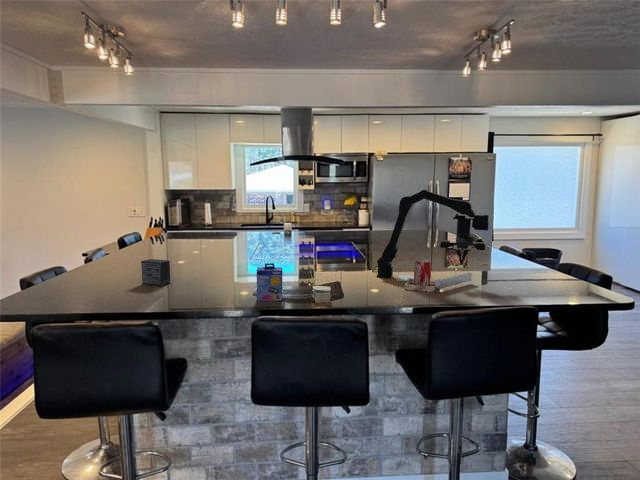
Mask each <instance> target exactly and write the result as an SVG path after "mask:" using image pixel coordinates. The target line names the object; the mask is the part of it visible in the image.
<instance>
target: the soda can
mask: <svg viewBox="0 0 640 480" xmlns="http://www.w3.org/2000/svg"><path fill="white" fill-rule="evenodd" d="M413 273H414V275H413V276H414V283H413V285H418V286H429V287H431V285H430V281H431V280H432V277H431V276H432V263H431V260H430V259H427V258H426V259H425V258H419V259H416V260H415V263H414V272H413Z"/></svg>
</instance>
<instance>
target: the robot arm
mask: <svg viewBox="0 0 640 480" xmlns="http://www.w3.org/2000/svg"><path fill="white" fill-rule="evenodd" d="M422 200H427V201H430V202H433V203H436V204H439V205H443V206H445V207H447V208H449V209H452V210H453V211H454V212H456V214H455V215H454V216H453V217H452V219H453V220H456V235H455V242H453V241H451V240H449V239H447V240H445V239H442V240H441V241H440V245H439V248H440V249H448V248H449V247H453V251H455V252H456V254H457V257H458V261H459V264H460V265H463V263H464V260H465V259H466V256H467V255H468V253H469V252H471V251H472V249H473V248H475V249H476V251H486V243H485V242H484V241H482V242H481V241H475V243H474V236H472V237H471V228H473V229H474V231H483V232H484V231H486V232H487V231H489V224H490V223H489V214H476V212H474V210H473V209H472V208H473V206H472V203H471V202H470V201H468V200H464V199H455V198H450V197H447V196H444V195H441V194H438V193H435V192H432V191H429V190H428V189H422V190H420V191H418V192H416V193H414V194H413V195H408V196H403V197H401V199H400V201H399V204H398V214H397V218H396V222H395V224H394V227H393V230H392V233H391V235H390V239H389V242H388V243H387V245H386V247H385V248H384V250H383V252H382V253H381V256H380V258H379V259H377V260H376V262H377V275H376V277H377V278H384V279H385V278H386V279H391V277H392V276H393V274H394V267H393V261H394V260H395V259H396V258H397V257H398V256H399V252H400V250H401V248H400V247H399V242H400V239H401V235H402V233H403V229H404V227H405V224H406V221H407V218H408V216H409V214H410V213H411V211H412V210H413V208H414V206H415V204H416V203H419V202H420V201H422ZM459 214H460V215H459ZM462 249H463V252H462Z"/></svg>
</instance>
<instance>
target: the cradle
mask: <svg viewBox="0 0 640 480" xmlns="http://www.w3.org/2000/svg"><path fill="white" fill-rule="evenodd" d="M403 288H404V289H407V290H406V291H415V290H417V292H425V291H427V292H426V293H435V294H441V289H435V279H431V281H430V287H429V286H418V285H414V278H408V280H407V281H406V282H405V283H404V287H403Z"/></svg>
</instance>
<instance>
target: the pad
mask: <svg viewBox="0 0 640 480" xmlns="http://www.w3.org/2000/svg"><path fill="white" fill-rule="evenodd" d="M408 278H414V275H409V274H398V276H397V277H396V278H395V281H397V282H405V281H407V280H408Z"/></svg>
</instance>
